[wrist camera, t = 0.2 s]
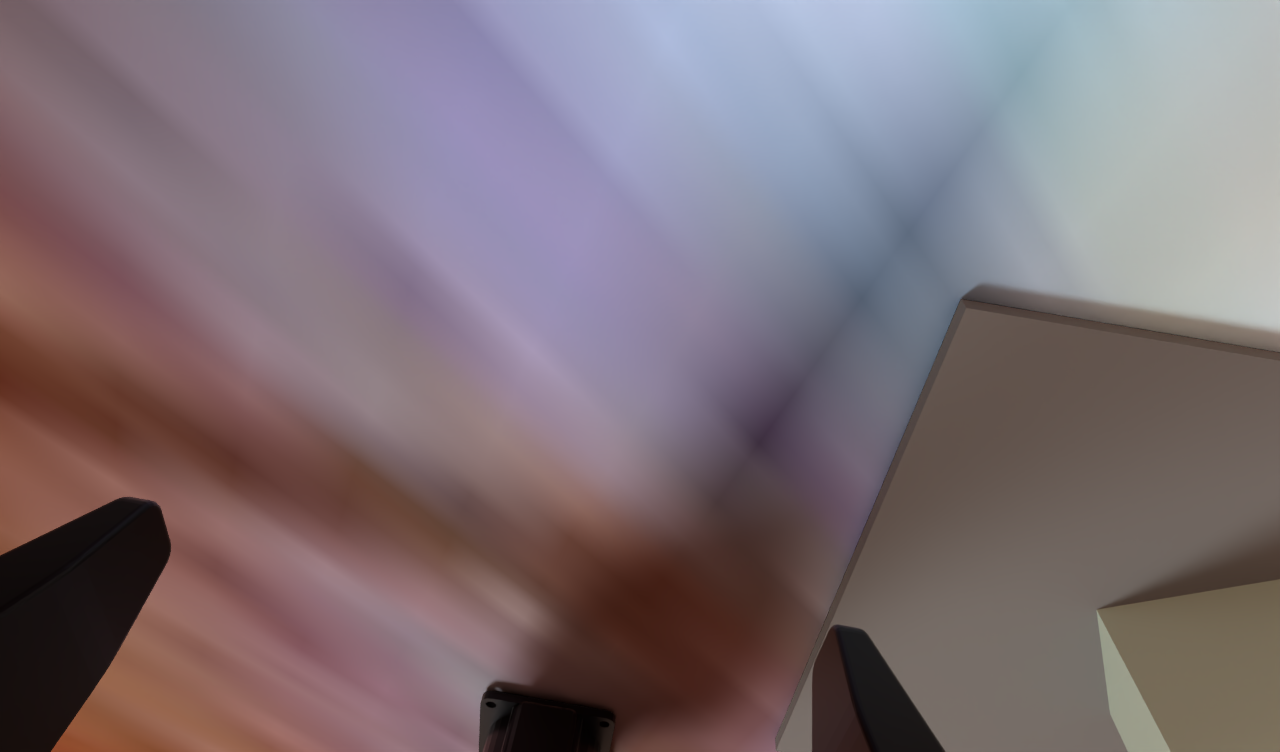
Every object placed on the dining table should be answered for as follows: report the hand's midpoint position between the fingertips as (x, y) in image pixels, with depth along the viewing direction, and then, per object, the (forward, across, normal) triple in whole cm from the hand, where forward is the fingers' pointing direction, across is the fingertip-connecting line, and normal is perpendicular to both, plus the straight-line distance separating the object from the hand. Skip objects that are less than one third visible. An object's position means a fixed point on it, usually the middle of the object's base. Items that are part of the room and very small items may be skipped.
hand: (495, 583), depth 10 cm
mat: (+15, -21, +13) cm, 29 cm away
